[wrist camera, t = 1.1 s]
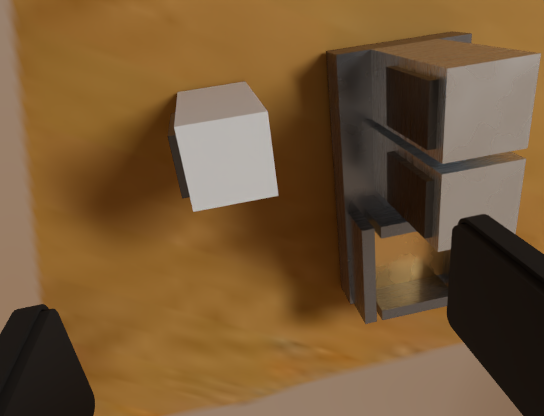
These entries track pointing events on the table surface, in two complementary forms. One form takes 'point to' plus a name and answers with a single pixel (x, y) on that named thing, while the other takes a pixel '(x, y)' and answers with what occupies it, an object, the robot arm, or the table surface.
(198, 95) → the pale grey block
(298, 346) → the table surface
